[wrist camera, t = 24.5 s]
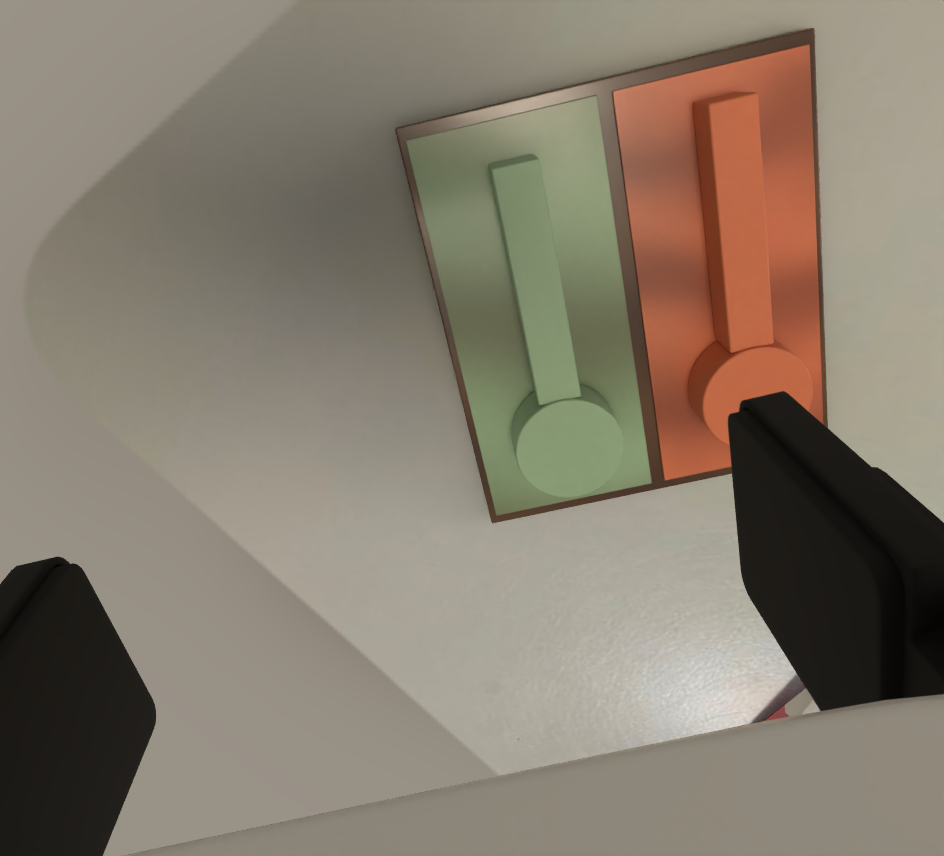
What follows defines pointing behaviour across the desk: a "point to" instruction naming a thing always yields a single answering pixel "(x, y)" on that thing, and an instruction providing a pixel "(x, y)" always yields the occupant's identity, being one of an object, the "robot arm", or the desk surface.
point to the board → (618, 253)
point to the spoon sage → (549, 350)
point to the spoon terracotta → (737, 269)
